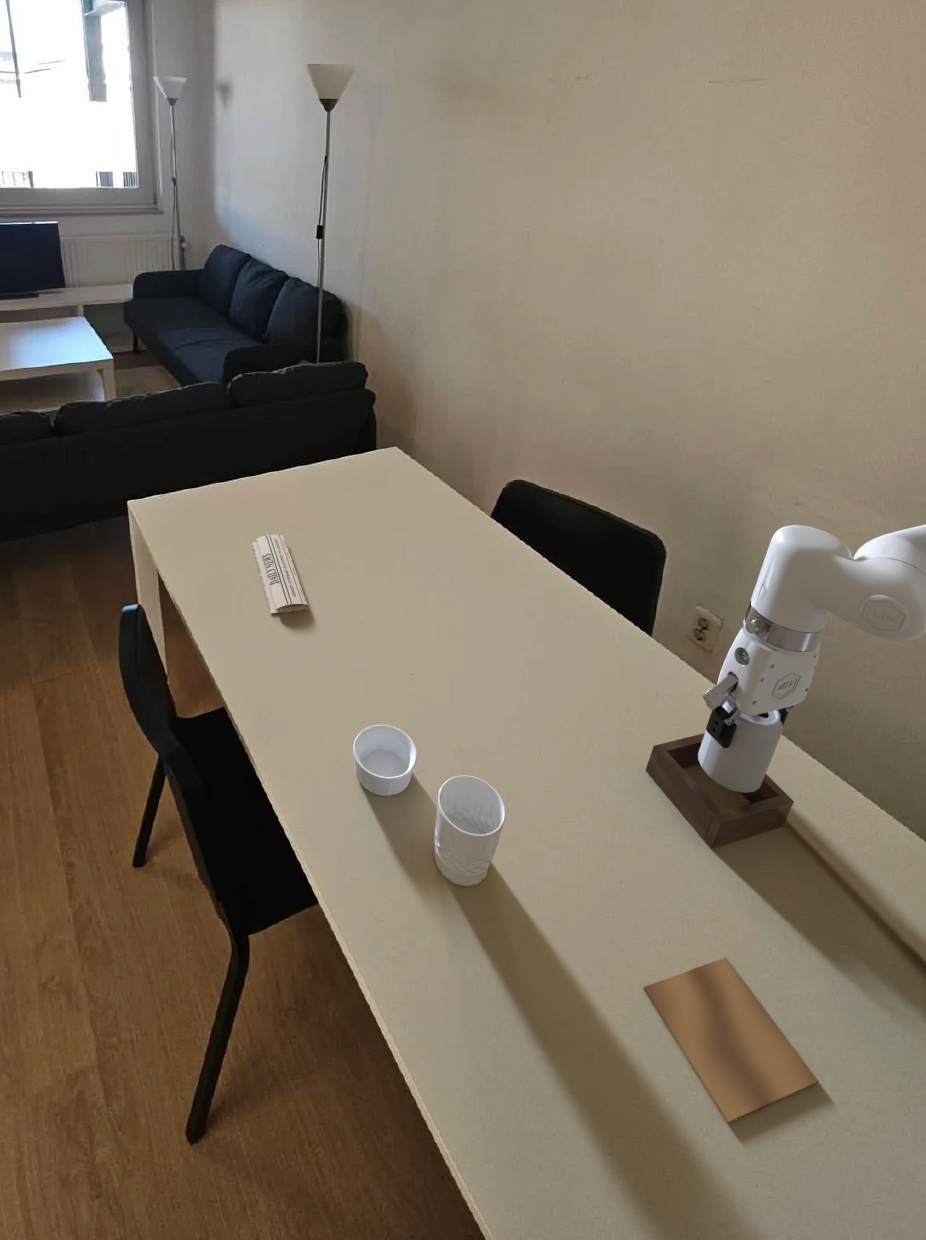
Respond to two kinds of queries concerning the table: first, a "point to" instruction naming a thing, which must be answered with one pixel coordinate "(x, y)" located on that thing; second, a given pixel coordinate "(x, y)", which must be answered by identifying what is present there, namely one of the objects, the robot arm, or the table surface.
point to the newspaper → (278, 575)
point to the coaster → (729, 1039)
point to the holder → (700, 810)
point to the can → (742, 751)
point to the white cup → (467, 829)
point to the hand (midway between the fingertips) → (742, 732)
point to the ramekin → (384, 759)
